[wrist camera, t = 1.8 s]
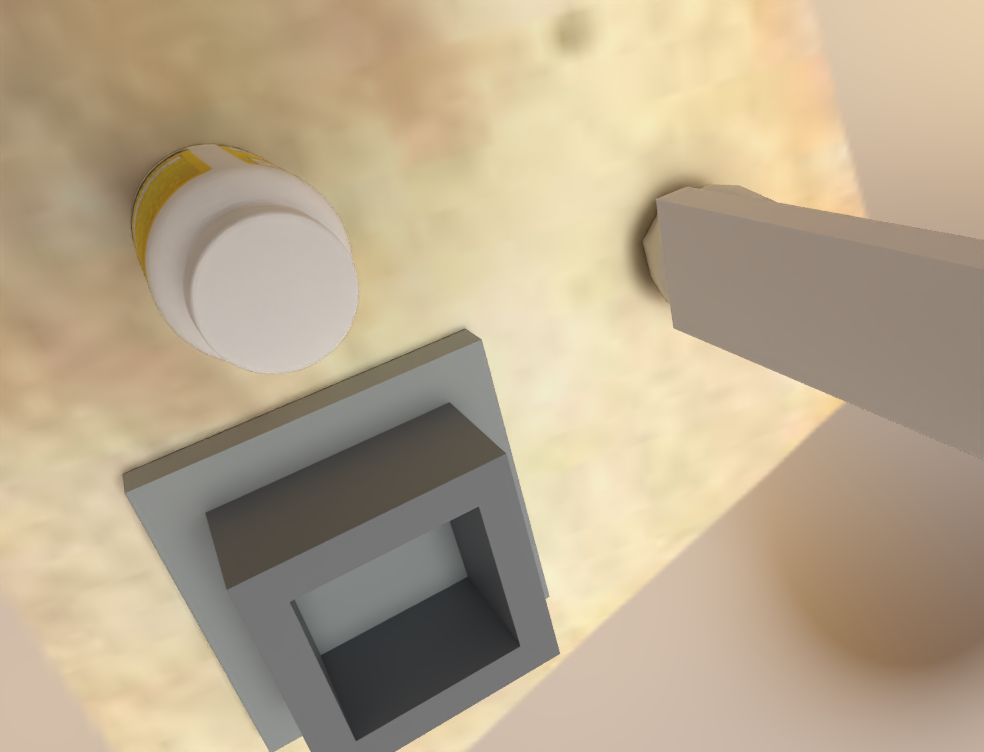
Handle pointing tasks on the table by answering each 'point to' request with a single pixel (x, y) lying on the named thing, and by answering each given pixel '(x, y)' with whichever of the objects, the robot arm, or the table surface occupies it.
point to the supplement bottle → (244, 259)
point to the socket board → (359, 553)
